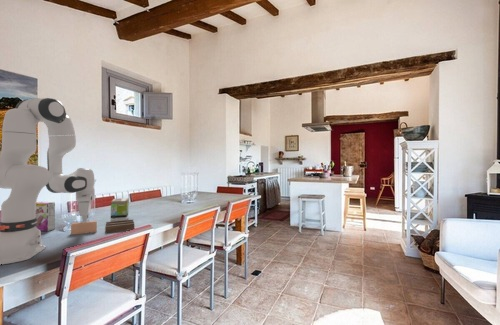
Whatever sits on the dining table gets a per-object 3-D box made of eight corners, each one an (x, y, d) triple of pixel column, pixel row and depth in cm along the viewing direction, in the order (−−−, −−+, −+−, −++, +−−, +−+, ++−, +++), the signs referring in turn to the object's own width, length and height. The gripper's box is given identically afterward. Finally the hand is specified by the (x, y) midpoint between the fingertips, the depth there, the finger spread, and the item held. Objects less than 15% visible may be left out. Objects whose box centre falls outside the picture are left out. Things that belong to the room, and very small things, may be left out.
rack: (134, 229, 143) (134, 223, 143) (105, 232, 136) (105, 226, 136) (133, 224, 154) (133, 219, 154) (106, 227, 146) (106, 222, 146)
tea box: (127, 222, 160) (127, 200, 160) (110, 223, 156) (110, 201, 156) (128, 217, 174) (128, 197, 174) (112, 218, 170) (112, 198, 170)
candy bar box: (29, 231, 138) (30, 202, 138) (38, 228, 143) (38, 201, 143) (47, 231, 137) (47, 203, 137) (55, 229, 142) (55, 201, 142)
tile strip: (96, 231, 138) (96, 221, 138) (70, 234, 132) (71, 224, 132) (96, 230, 140) (96, 220, 140) (71, 233, 134) (71, 223, 134)
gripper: (81, 194, 144) (81, 216, 144) (75, 199, 126) (76, 225, 127) (93, 193, 147) (93, 215, 147) (90, 198, 129) (90, 223, 130)
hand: (85, 220), depth 137 cm, fingers open, 8 cm apart
